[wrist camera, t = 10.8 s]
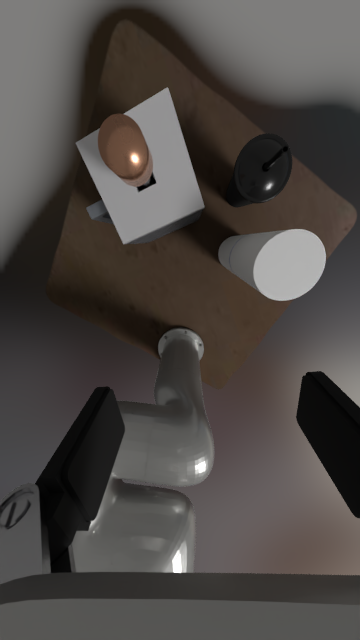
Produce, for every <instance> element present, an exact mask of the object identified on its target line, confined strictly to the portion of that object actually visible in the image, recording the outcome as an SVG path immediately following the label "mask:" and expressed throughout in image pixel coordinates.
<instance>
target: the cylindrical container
mask: <svg viewBox="0 0 360 640" xmlns="http://www.w3.org/2000/svg"><path fill="white" fill-rule="evenodd" d="M218 257H219V261H220V263H221V264H222V265H223V266H224V267H225V268H227V269H228V270H230V271H231V272H232V273H234V274H235V275H237V276H238V277H239V278H241V279H242V280H244V281H245V282H247V283H248V284H249V285H251V286H252V287H254V288H255V289H256V290H258V291H259V292H260V293H262V294H263V295H265V296H267V297H268V298H270V299H273V300H279V301H285V300H291V299H295V298H297V297H299V296H301V295H303V294H305V293H306V292H307V291H309V290H310V289H311V288H312V287H313V286H314V285H315V284H316V283H317V281H318V280H319V278H320V277H321V275H322V272H323V270H324V267H325V262H326V253H325V248H324V246H323V244H322V242H321V240H320V239H319V238H318V237H317V236H316V235H314V234H313V233H312V232H309V231H306V230H301V229H293V230H283V231H274V232H265V233H256V234H247V235H238V236H231V237H229V238H227V239H226V240H224V241H223V243H222V244H221V246H220V248H219V251H218Z"/></svg>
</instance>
